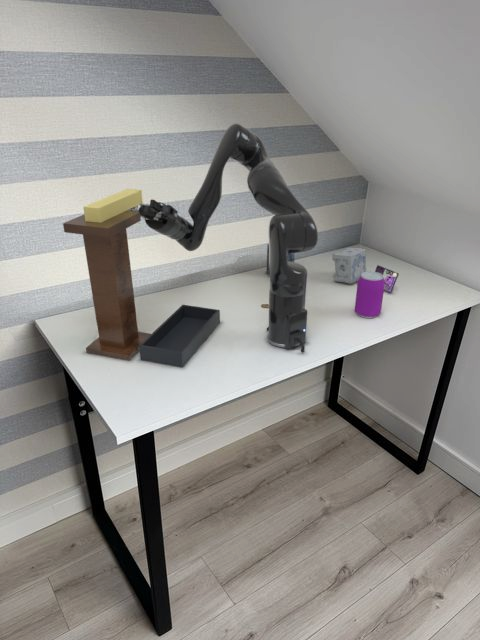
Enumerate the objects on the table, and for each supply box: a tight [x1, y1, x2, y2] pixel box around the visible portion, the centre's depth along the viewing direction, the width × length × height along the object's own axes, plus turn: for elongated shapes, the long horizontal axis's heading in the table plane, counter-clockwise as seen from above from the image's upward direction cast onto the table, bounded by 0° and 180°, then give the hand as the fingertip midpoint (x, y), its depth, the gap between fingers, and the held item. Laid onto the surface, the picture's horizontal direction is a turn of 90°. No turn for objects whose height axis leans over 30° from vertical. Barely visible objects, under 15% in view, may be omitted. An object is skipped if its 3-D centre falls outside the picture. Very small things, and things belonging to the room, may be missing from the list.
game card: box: [374, 264, 399, 294], centre depth 167 cm, size 7×5×9 cm
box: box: [266, 243, 295, 276], centre depth 175 cm, size 8×6×11 cm
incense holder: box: [332, 247, 367, 284], centre depth 171 cm, size 10×8×10 cm
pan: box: [139, 304, 221, 368], centre depth 134 cm, size 25×11×4 cm, turn 163°
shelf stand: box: [62, 211, 152, 362], centre depth 123 cm, size 14×12×33 cm
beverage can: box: [354, 270, 386, 319], centre depth 148 cm, size 8×8×12 cm
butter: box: [83, 188, 144, 223], centre depth 119 cm, size 19×4×3 cm, turn 163°
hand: (135, 201), depth 128 cm, fingers open, 8 cm apart
